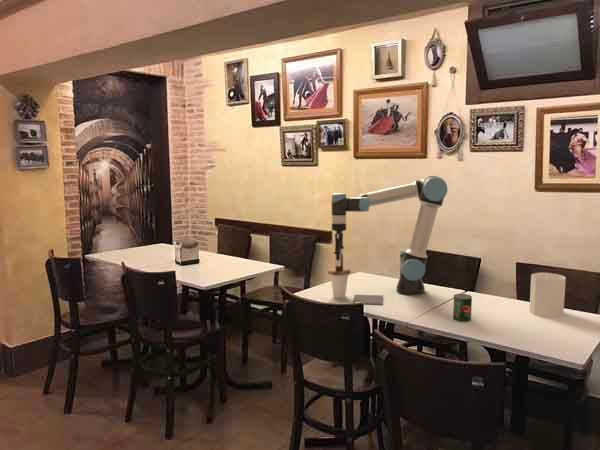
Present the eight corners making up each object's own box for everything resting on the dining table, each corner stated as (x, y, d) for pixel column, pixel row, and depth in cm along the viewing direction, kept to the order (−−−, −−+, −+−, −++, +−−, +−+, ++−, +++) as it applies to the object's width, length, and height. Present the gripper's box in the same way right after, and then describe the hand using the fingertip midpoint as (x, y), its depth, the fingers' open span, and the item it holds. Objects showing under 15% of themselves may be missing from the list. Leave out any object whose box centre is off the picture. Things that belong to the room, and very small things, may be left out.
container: (549, 320, 230) (551, 281, 227) (522, 311, 242) (524, 274, 240) (569, 315, 236) (572, 277, 234) (542, 307, 249) (544, 271, 246)
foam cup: (348, 298, 268) (348, 274, 266) (331, 298, 268) (330, 274, 266) (347, 293, 277) (347, 270, 275) (330, 293, 277) (330, 270, 275)
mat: (382, 296, 270) (382, 295, 270) (382, 304, 256) (382, 303, 256) (354, 295, 273) (354, 294, 273) (352, 303, 258) (352, 302, 258)
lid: (351, 270, 275) (351, 252, 274) (349, 275, 264) (349, 257, 262) (329, 269, 277) (329, 252, 276) (326, 275, 266) (326, 256, 264)
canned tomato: (468, 323, 227) (469, 299, 225) (451, 320, 231) (451, 297, 230) (473, 318, 234) (473, 295, 232) (455, 315, 238) (456, 292, 236)
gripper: (334, 219, 279) (334, 258, 282) (329, 226, 256) (329, 268, 259) (347, 219, 278) (347, 258, 281) (344, 226, 254) (344, 268, 257)
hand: (339, 263), depth 270 cm, fingers open, 11 cm apart
